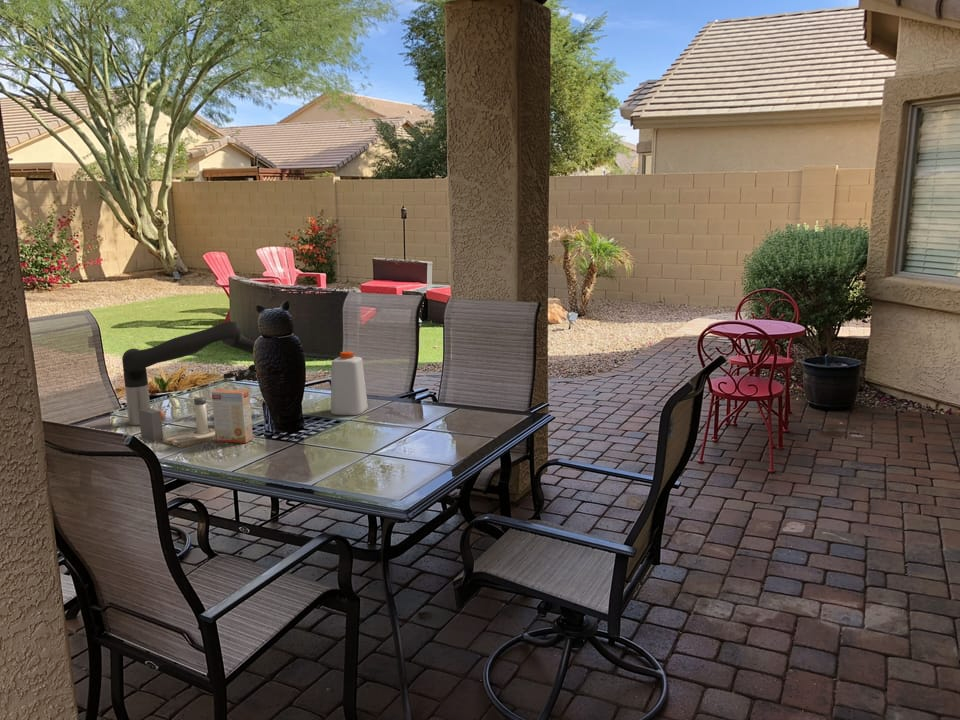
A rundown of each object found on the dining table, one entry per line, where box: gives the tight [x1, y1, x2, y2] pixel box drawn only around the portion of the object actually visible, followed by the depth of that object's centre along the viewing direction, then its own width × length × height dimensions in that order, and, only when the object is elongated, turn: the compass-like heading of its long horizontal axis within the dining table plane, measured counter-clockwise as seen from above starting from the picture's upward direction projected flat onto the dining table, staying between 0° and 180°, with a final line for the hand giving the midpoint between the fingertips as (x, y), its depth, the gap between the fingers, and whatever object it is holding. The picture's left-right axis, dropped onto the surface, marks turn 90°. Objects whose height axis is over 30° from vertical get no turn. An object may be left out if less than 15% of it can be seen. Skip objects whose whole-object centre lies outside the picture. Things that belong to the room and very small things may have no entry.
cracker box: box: [211, 388, 254, 444], centre depth 303 cm, size 14×6×21 cm, turn 74°
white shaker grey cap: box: [193, 396, 209, 433], centre depth 312 cm, size 5×5×14 cm
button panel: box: [139, 407, 164, 442], centre depth 309 cm, size 10×4×12 cm, turn 52°
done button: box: [157, 409, 166, 421], centre depth 311 cm, size 4×2×4 cm, turn 52°
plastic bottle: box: [330, 350, 369, 416], centre depth 346 cm, size 15×15×28 cm
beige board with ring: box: [162, 427, 216, 448], centre depth 308 cm, size 14×20×2 cm
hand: (229, 377), depth 321 cm, fingers open, 8 cm apart
